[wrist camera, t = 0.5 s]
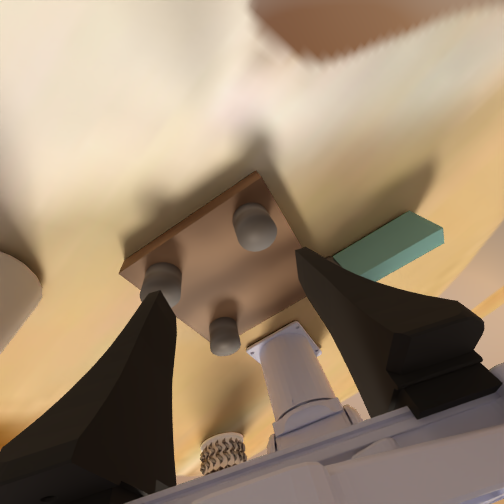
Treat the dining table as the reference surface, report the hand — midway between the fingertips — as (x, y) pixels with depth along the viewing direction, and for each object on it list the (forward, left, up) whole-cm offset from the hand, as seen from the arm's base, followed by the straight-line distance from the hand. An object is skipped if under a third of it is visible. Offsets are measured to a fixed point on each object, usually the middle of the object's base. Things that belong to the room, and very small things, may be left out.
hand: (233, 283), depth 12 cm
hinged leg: (-12, -11, -10) cm, 19 cm away
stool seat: (-6, +2, -10) cm, 12 cm away
